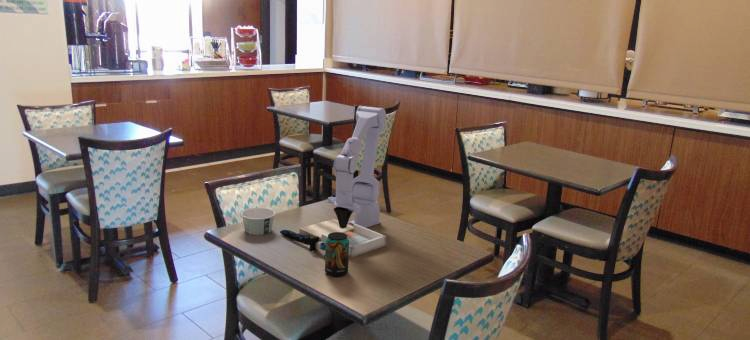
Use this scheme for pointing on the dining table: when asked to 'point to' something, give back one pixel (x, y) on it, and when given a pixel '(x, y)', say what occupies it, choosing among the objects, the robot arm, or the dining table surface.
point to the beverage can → (336, 254)
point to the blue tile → (356, 240)
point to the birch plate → (324, 229)
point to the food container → (258, 220)
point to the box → (372, 242)
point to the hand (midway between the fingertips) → (343, 227)
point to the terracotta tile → (350, 234)
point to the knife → (304, 239)
